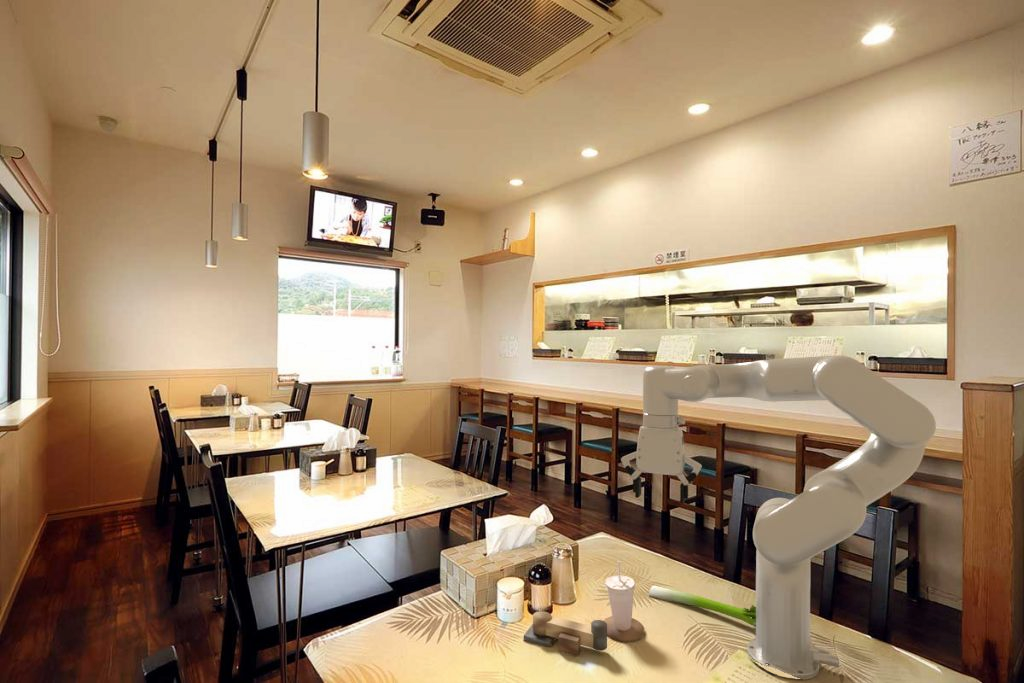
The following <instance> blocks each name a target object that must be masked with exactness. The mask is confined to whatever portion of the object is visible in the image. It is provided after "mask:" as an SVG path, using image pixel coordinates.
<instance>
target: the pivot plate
mask: <svg viewBox="0 0 1024 683" xmlns="http://www.w3.org/2000/svg"><path fill="white" fill-rule="evenodd" d="M556 640H557V638H554V637H550V636H546V635H545V636H541V635H537V634H535V633H534V632H533V623H532V624H531V625H530V626H529V628H528V629H527V630H526V632H525V633H524V634H523V641H524V642H525V641H526V642H529V643H533V644H537V645H540V646H543V647H547V648H552V645H554V642H556Z"/></svg>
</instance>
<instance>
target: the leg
mask: <svg viewBox="0 0 1024 683" xmlns="http://www.w3.org/2000/svg"><path fill="white" fill-rule="evenodd" d="M590 623H591V624H589V625H588V624H586V623H585V624H584V623H581V622H577V621H574V620H569V619H566V618H561V617H557V616H555V615H552V614H551V613H550V612H547V611H542V610H541V611H536V612H534V613H533V614H532V624H533V632H534V633H535V634H537V635H541V636H545V635H546V636H550V637H554V638H556V640H559V635H560V634H561V632H565V633H569V634H573V635H576V636H580V637H581V639H580V646H583V647H587V648H589V649H593V650H595V651H598V652H599V651H606V649H607V648H608V636H607V623H606V622H604V620H601V619H594V620H592V621H591V622H590Z"/></svg>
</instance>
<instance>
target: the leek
mask: <svg viewBox="0 0 1024 683" xmlns="http://www.w3.org/2000/svg"><path fill="white" fill-rule="evenodd" d="M648 597H650V598H655V599H658V600H664V601H669V602H674V603H675V602H676V603H680V604H684V605H687V606H688V605H689V606H693V607H697V608H701V609H705V610H709V611H712V612H715V613H720V614H723V615H725V616H728V617H731V618H735V619H737V620H741V621H743V622H745V623H746V624H748V625H751V626H753V627H755V628H756V606H755V605H753V604H751V607H749V608H746V607H743V608H741V607H737V606H733V605H730V604H726V603H723V602H719V601H715V600H712V599H709V598H707V597H706V598H705V597H702V596H698V595H694V594H691V593H690V594H689V593H687V592H683V591H678V590H674V589H671V588H666V587H662V586H658V585H652V586H651V587H650V589H649V591H648Z"/></svg>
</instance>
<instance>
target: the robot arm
mask: <svg viewBox="0 0 1024 683" xmlns="http://www.w3.org/2000/svg"><path fill="white" fill-rule="evenodd" d="M642 375H643V377H642V383H643V384H642V425H641V426H639V431H638V436H637V445H636V446H637V447H636V451H634V452H631V453H629V454H626V455H624V456H622V457H621V458H620V461H621V463H622V465H623V467H624V470H625V472H627V474H629V476H630V478H631V479H632V493H634V494H635V498H636V499H638V498H639V497H640V496H641V495H642V477H641V476H640V475H641V474H642V473H646V474H648V473H649V474H657V475H666V476H667V475H668V476H676V477H677V478H678V479H679V480H680V482H681V483H680V486H679V491H680V492H679V496H680V498H679V500H680V501H679V502H680V504H683V505H684V504H685V502H686V500H688V499H689V484H690V483H691V482H692V481H694V480H695V479H696V478H697V477H698V475H699V473H700V471H701V469H702V467H703V466H702V464H701V463H700V462H698V461H696V460H694V459H693V458H690V457H689V456H687V455H685V453H686V452H685V439H684V433H683V428H681V427H679V426H680V425H681V426H682V425H685V424H686V418H685V417H681V416H679V414H680V413H679V401H684V402H688V403H700V402H702V401H705V400H707V399H716V398H717V399H718V398H720V399H722V398H723V399H724V398H747V399H754V400H758V401H763V402H770V403H771V402H774V403H776V402H804V401H805V402H806V401H810V402H811V401H812V402H813V401H814V402H815V401H828V402H829V403H830V404H832V405H833V406H834V407H835V408H837V409H838V410H839V411H841V412H842V413H843V414H844V415H846V416H847V417H849V418H851V419H852V420H853V421H854V422H856V423H857V424H859V425H860V426H862V427H863V428H864V429H866V430H867V431H868V432H870V435H869V437H868V438H867V440H866V441H865V442H864V443H863V444H862V445H861V446H860V447H859V448H856V450H854V451H852V452H851V453H850V454H848V455H847V456H845V457H844V458H841V460H838V461H837V462H835V463H834V464H832V465H830V466H828V467H827V468H825V469H824V470H821V471H819V472H818V473H816V474H814V475H812V476H811V477H809V479H808V480H807V481H806V482H805V484H804V487H803V492H801V493H799V495H796V496H795V497H794V498H792V499H790V498H785V497H774V498H770V499H767V500H766V501H764V502H763V504H761V506H760V507H759V508H758V511H757V513H756V516H755V520H754V524H753V528H752V540H753V544H754V546H755V548H756V552H755V553H756V554H755V555H756V556H755V561H756V563H755V564H756V565H755V566H756V567H755V607H756V627H755V638H753V639H751V640H750V641H749V642H748V643H747V645H746V646H747V650H746V652H747V655H748V657H749V656H750V657H751V658H752V659H753V660H755V661H756V662H758V663H760V664H761V665H764V666H766V667H767V666H768V667H769V666H770V667H773V668H775V669H778V670H780V671H782V672H784V673H787V674H790V675H792V676H794V677H797V678H800V679H803V680H810V679H813V678H815V677H816V676H818V674H819V672H820V664H824V665H827V666H830V667H835V668H839V667H840V662H839V656H838V655H835V654H830V649H829V648H825V647H823V646H822V647H820V646H816V645H815V643H814V644H813V643H812V642H813V641H812V637H811V559H812V558H813V557H815V556H818V555H820V554H821V553H823V552H824V551H826V550H829V549H830V548H832V547H834V546H836V545H837V544H839V543H841V542H843V541H845V540H847V539H848V538H849V537H851V536H853V535H854V534H855V533H856V532H857V531H859V529H860V528H861V527H862V526H863V524H864V522H865V521H866V517H867V507H868V506H869V505H871V504H872V503H874V502H876V501H878V500H879V499H881V498H882V497H884V496H886V495H887V494H888V493H890V492H892V491H893V490H895V489H896V488H898V487H899V486H901V485H903V484H904V483H905V482H906V481H908V479H909V478H910V477H911V476H913V475H914V473H915V472H917V470H918V468H919V466H920V464H921V462H922V461H923V457H924V454H925V451H926V444H927V443H928V442H930V441H931V440H932V438H933V437H934V435H935V433H936V427H937V425H936V419H935V416H934V415H933V413H932V412H931V410H930V409H929V408H928V407H927V406H925V404H923V403H922V402H920V401H919V400H917V399H915V398H914V397H913V396H911V395H909V394H907V393H906V392H904V391H903V390H901V389H900V388H898V387H897V386H896V385H894V384H892V383H890V382H889V381H887V380H886V379H884V378H883V377H882V376H880V375H878V374H877V373H876V372H874V371H873V370H871V369H870V368H868V367H867V366H865V365H864V364H863V363H861V361H859V360H857V359H855V358H853V357H849V356H845V355H839V354H837V355H824V356H823V355H822V356H803V357H789V358H787V357H786V358H771V359H760V360H754V361H749V362H740V363H739V362H738V363H724V364H723V363H721V364H704V365H703V364H702V365H701V364H700V365H695V366H687V367H678V368H675V367H674V366H673V367H672V366H665V365H663V366H662V365H661V366H660V365H657V366H656V365H654V366H652V365H651V366H647V367H645V369H643V373H642ZM632 460H635V464H636V469H635V468H634V467H632V466H633V465H631V463H630V461H632ZM686 465H688V466H690V467H691V468H692V469H693V470H692V471H691V472H690V473H689V474H687V473H686V472H685V470H686V469H685V468H686ZM750 657H749V658H750ZM766 664H768V665H766Z"/></svg>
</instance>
